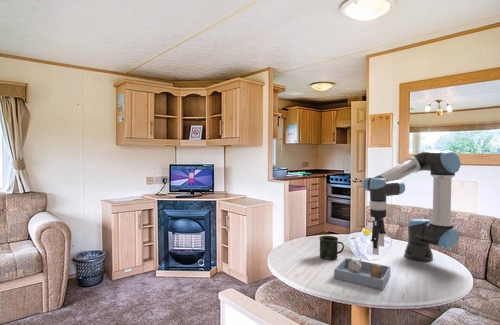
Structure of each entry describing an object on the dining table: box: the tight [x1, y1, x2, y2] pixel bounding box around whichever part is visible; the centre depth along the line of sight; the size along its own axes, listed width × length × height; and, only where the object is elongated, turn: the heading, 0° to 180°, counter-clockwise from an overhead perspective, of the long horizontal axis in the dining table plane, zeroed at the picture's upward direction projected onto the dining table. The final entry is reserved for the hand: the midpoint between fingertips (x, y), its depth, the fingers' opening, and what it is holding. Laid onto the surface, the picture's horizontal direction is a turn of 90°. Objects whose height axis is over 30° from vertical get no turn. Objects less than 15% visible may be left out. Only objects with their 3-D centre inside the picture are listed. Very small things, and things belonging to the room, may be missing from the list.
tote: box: [333, 257, 391, 291], centre depth 159 cm, size 19×23×5 cm
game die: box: [347, 257, 364, 274], centre depth 161 cm, size 9×8×10 cm
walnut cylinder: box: [370, 263, 381, 279], centre depth 155 cm, size 5×5×7 cm
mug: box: [318, 235, 345, 261], centre depth 187 cm, size 11×15×12 cm
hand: (378, 250), depth 157 cm, fingers open, 13 cm apart
